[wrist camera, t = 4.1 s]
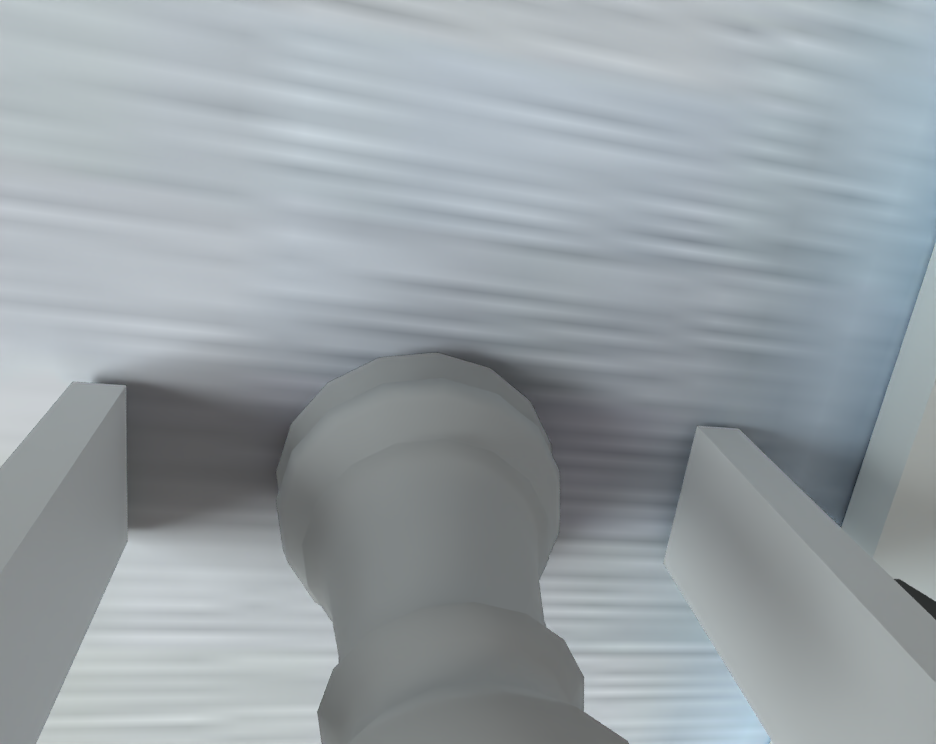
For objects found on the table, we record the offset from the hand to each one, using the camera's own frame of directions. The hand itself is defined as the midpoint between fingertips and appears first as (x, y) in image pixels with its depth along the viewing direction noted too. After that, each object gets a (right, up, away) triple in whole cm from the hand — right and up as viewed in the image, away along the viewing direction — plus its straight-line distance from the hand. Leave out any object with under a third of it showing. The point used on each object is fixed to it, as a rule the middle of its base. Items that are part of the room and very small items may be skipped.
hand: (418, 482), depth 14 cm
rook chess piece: (0, 0, 0) cm, 1 cm away
